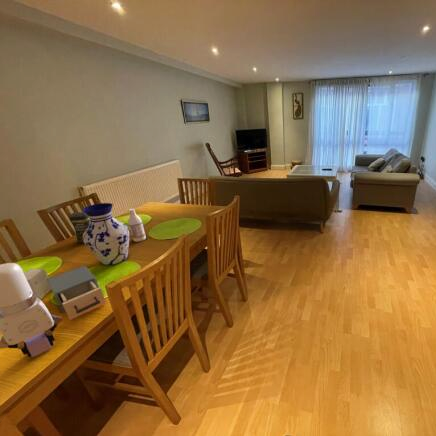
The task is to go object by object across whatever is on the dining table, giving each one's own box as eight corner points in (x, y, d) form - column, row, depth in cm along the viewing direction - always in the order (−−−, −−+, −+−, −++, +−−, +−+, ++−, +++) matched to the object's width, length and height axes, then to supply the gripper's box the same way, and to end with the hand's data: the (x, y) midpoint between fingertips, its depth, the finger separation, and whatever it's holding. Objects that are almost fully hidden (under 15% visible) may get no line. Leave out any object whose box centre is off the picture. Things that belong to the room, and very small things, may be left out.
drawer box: (101, 294, 102) (95, 277, 98) (63, 312, 93) (54, 293, 89) (91, 281, 110) (84, 265, 107) (54, 296, 101) (46, 278, 98)
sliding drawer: (110, 308, 94) (105, 293, 91) (73, 326, 85) (65, 310, 82) (95, 289, 104) (90, 275, 101) (61, 304, 96) (54, 289, 93)
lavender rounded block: (32, 357, 74) (26, 347, 73) (30, 349, 77) (24, 339, 75) (51, 347, 78) (46, 337, 76) (48, 340, 80) (43, 330, 78)
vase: (107, 273, 116) (86, 216, 104) (84, 264, 123) (63, 210, 112) (143, 255, 132) (129, 203, 120) (122, 248, 139) (106, 199, 128)
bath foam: (132, 238, 150) (124, 209, 142) (145, 235, 154) (137, 206, 146) (134, 243, 145) (125, 212, 137) (147, 239, 148) (139, 209, 141)
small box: (39, 289, 105) (29, 269, 101) (54, 287, 106) (44, 268, 102) (24, 302, 98) (12, 281, 94) (40, 300, 99) (29, 279, 95)
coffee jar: (76, 244, 144) (64, 215, 136) (83, 238, 151) (72, 210, 144) (94, 242, 146) (84, 214, 139) (100, 236, 153) (91, 209, 146)
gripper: (-29, 327, 62) (2, 375, 69) (58, 294, 74) (77, 337, 81) (-29, 314, 66) (0, 360, 73) (53, 284, 79) (71, 326, 85)
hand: (40, 348), depth 77 cm, fingers closed on lavender rounded block, 4 cm apart
